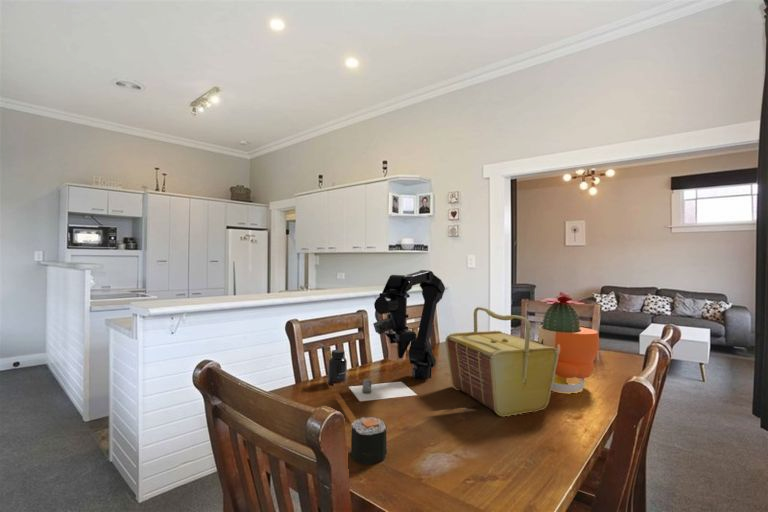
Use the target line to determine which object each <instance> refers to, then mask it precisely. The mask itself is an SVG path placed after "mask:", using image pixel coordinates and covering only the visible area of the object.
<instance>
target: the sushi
mask: <svg viewBox="0 0 768 512" xmlns="http://www.w3.org/2000/svg"><path fill="white" fill-rule="evenodd" d="M350 424H351V437H350V438H351V439H350V440H351V444H350V445H351V446H350V447H351V448H350V449H351V450H350V453H351V455H350V456H351V457H352V458H353V459H354V461H355V462H357V463H358V464H360V465H367V466H368V465H374V464H376V463H380V462H383V461H384V460H385V459H386V455H387V454H388V453H387V450H388V449H387V425H385V423H384V421H383V420H381V419H379V418H376V417H374V416H373V417H365V416H364V417H360V419H359V418H357V419H355V420H353V422H351V423H350Z"/></svg>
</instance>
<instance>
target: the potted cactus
mask: <svg viewBox="0 0 768 512" xmlns="http://www.w3.org/2000/svg"><path fill="white" fill-rule="evenodd" d="M539 302H540V303H546V305H549V306H548V307H547V309H545V313H542V315H543V316H542V315H541V318H542V319H541V318H540V319H541V321H542V323H540V326H539V327H538V332H537V333H538V334H537V341H538V342H537V343H539V344H542V345H545V346H549V347H554V348H556V349H557V351H558V353H559V356H558V361H557V366H556V371H555V375H554V380H553V385H552V390H555V391H561V392H575V391H579V390H581V389H583V387H584V388H585V379H586V378H589V377H590V376H592V374H593V373H594V369H595V364H594V361H595V359H596V358H597V356H598V354H599V350H600V344H601V343H600V337H599V331H597V330H596V329H591V328H588V327H582V323H581V322H582V319H580V317H581V315H579V313H578V311H577V307H576V308H574V305H578V306H583V305H584V306H585V305H586V303H585V302H579V300H573V299H572V298H571V297H570V294H569V293H567V292H563V291H562V292H561V291H560V292H559V294H558V295H557V296H556V297H547V298H542V300H539ZM567 378H574V379H577V380H579V381H580V382H581V383H578V384H571V385H568V381H567Z"/></svg>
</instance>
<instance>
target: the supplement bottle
mask: <svg viewBox="0 0 768 512" xmlns="http://www.w3.org/2000/svg"><path fill="white" fill-rule="evenodd" d="M327 365H328V366H327V383H328V385H329V386H334V387H335V384H334V383H343V382H346V380H347V367H348V361H347V358H346V356H345V350H343V349H332V350H331V354H330V358H329V359H328V364H327Z"/></svg>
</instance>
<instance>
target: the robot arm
mask: <svg viewBox="0 0 768 512" xmlns="http://www.w3.org/2000/svg"><path fill="white" fill-rule="evenodd" d="M417 285H419V288H421V295H422V297H423V301H424V302H423V307H422V311H421V316H420V321H419V326H418V331H417V333H416V332H415V331H413V330H412V329H409V326H407V319H409V314H407V311H408V309H407V304H408V300H407V299H408V298H410V297H411V296H410V294H409V293H408V292H409V291H410V290H412V289H413V286H417ZM445 290H446V286H445V284H444V282H443V280H442V279H441V278H440V277H438V276H436V275H435V274H434V272H433V271H431V270H425V269H424V270H423V269H421V270H418V271H416V272H413V273H409V274H405V275H404V274H391V275H389V277H388V278H387V281H386V283H385V285H384V287H383V290H382V292H380V293H379V297H376V299H375V301H374V302H373V305H374V310H375V312H377V313H378V314H379V315H385V314H387V316H386V318H383V319H381V320H378V321H375V322H373V327H374V331H375V333H377V334H378V335H382V334H383V335H385V336H386V338H388V341H389V344H391V343H397V348H398V357H399V359H400V358H402V357H403V355H404V353H405V351H406V352H407V350H408V359H409V363H410V365H412V367H413V368H411V369H412V370H411V371H412V372H411V378H413V379H415V380H429V379H431V378H432V368H434V367H435V365H436V361H437V359H436V358H435V356H434V354H433V347H432V343H431V335H432V329H433V324H434V319H435V315H436V309H437V306H438V304H439V302H440V301H441V300H442V298H443V296H444V292H445ZM408 347H409V349H408Z"/></svg>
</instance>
